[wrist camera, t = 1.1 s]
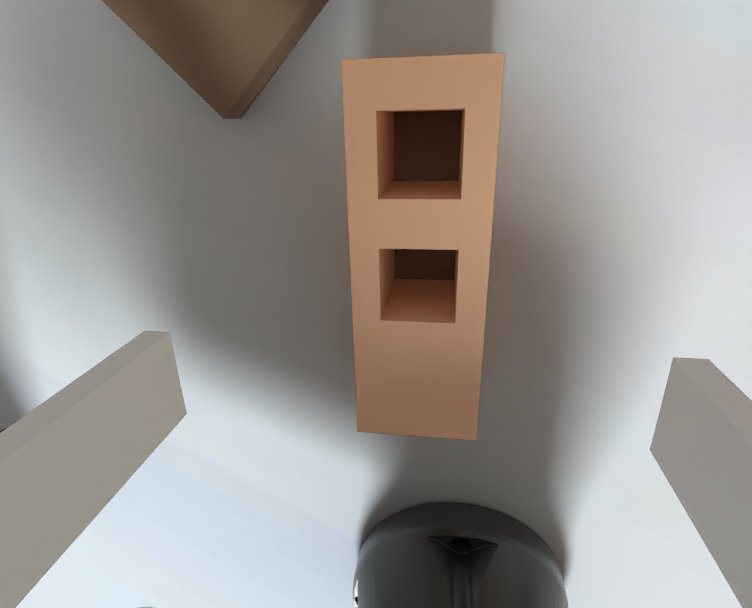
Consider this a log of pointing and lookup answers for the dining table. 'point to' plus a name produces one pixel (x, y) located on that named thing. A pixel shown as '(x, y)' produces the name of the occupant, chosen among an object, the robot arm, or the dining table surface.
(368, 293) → the block
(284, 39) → the post base
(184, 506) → the dining table surface
